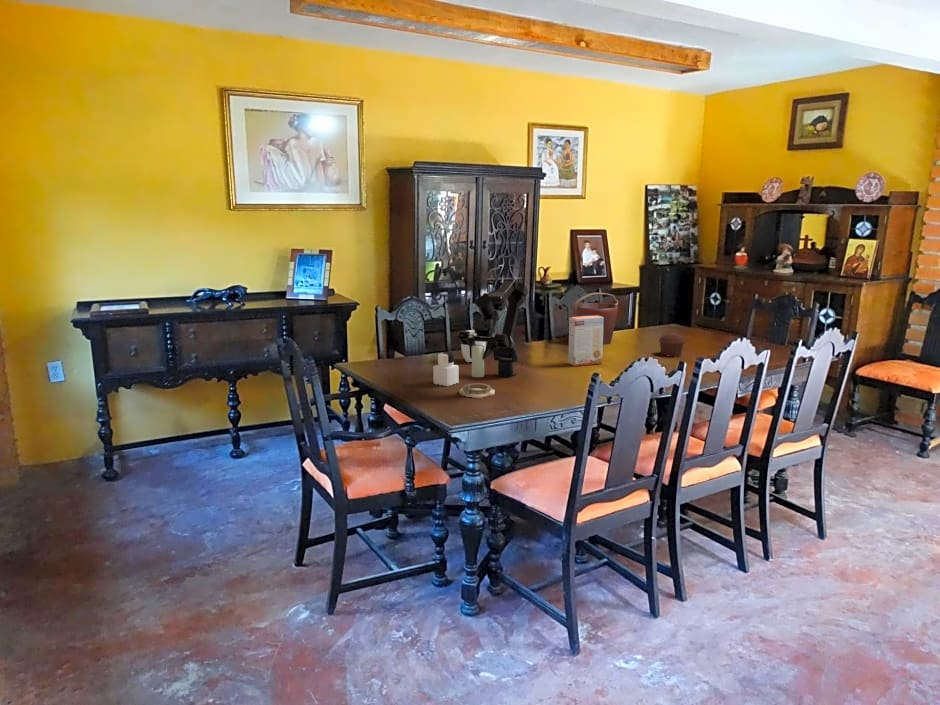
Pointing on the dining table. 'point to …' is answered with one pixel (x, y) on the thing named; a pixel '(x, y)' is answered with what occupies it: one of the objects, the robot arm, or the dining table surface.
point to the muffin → (671, 344)
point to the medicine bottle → (446, 370)
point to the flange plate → (477, 390)
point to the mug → (466, 348)
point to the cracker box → (585, 340)
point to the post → (477, 361)
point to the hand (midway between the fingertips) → (477, 358)
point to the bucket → (599, 313)
